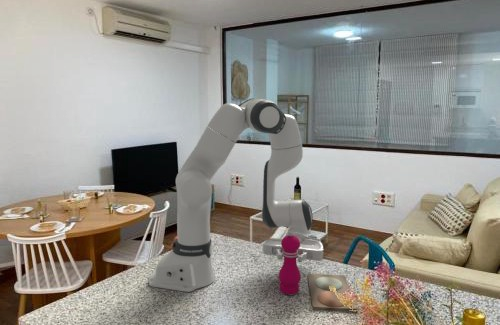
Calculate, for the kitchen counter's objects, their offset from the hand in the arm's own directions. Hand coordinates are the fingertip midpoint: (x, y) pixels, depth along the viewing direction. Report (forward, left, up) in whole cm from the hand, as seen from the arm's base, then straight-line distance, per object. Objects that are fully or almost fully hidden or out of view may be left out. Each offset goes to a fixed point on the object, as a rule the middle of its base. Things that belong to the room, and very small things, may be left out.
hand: (289, 258), depth 118 cm
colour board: (+13, +2, -12) cm, 18 cm away
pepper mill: (0, +1, -11) cm, 11 cm away
